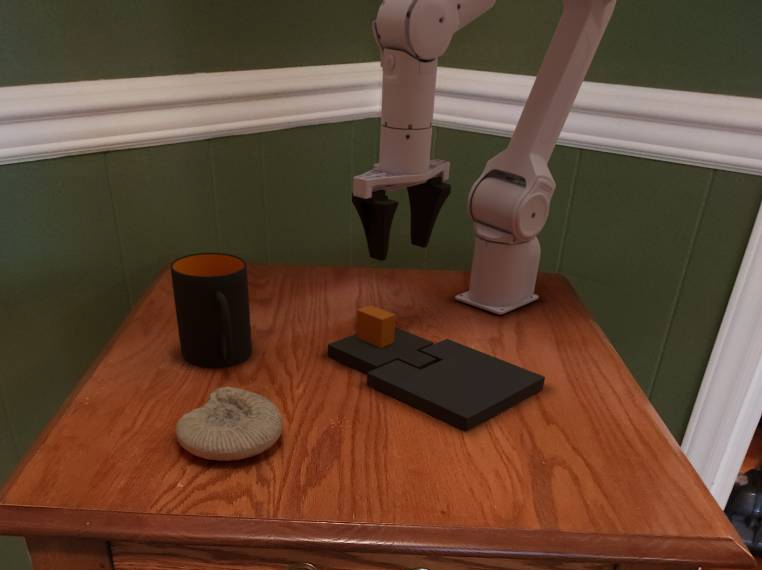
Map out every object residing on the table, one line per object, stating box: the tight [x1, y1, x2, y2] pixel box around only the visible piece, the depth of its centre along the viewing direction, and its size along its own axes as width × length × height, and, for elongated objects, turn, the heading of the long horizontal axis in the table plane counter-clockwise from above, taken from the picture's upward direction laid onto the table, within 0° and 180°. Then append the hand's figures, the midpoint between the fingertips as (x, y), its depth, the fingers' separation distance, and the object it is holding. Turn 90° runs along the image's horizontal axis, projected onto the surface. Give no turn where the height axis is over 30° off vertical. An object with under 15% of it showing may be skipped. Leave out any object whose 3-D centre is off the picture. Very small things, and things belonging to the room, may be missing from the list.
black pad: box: [327, 304, 436, 375], centre depth 85 cm, size 10×11×5 cm
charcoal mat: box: [366, 338, 546, 432], centre depth 81 cm, size 14×14×2 cm
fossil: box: [175, 386, 283, 462], centre depth 70 cm, size 11×4×10 cm
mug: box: [169, 252, 253, 369], centre depth 82 cm, size 8×12×10 cm
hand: (398, 251), depth 89 cm, fingers open, 7 cm apart
